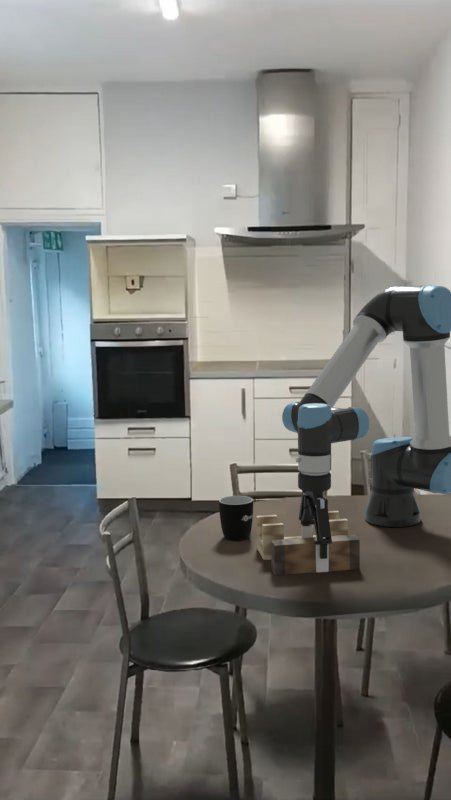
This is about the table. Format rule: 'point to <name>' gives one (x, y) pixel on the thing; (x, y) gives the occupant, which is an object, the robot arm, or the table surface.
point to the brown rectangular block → (313, 554)
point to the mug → (236, 517)
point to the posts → (275, 531)
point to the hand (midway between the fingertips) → (314, 561)
